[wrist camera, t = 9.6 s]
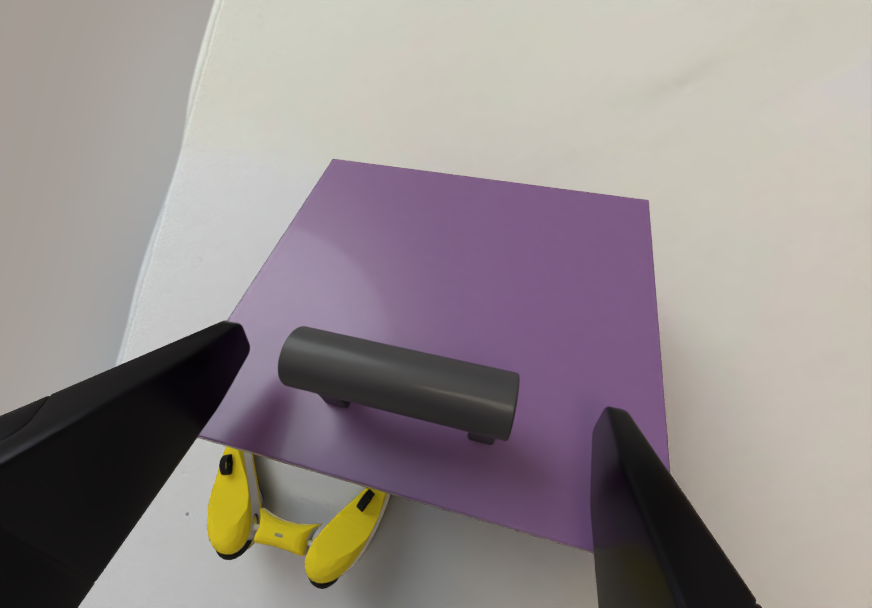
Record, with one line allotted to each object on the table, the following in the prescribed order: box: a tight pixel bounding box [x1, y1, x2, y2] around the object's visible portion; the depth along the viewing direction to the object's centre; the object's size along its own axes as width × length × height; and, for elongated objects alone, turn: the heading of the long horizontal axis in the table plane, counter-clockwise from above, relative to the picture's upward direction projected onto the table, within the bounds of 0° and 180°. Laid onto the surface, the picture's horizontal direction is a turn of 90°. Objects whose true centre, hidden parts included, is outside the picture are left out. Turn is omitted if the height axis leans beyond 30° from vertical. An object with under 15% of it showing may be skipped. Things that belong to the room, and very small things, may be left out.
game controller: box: [207, 446, 391, 589], centre depth 20 cm, size 10×6×4 cm, turn 80°
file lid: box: [197, 159, 670, 554], centre depth 11 cm, size 12×13×4 cm
